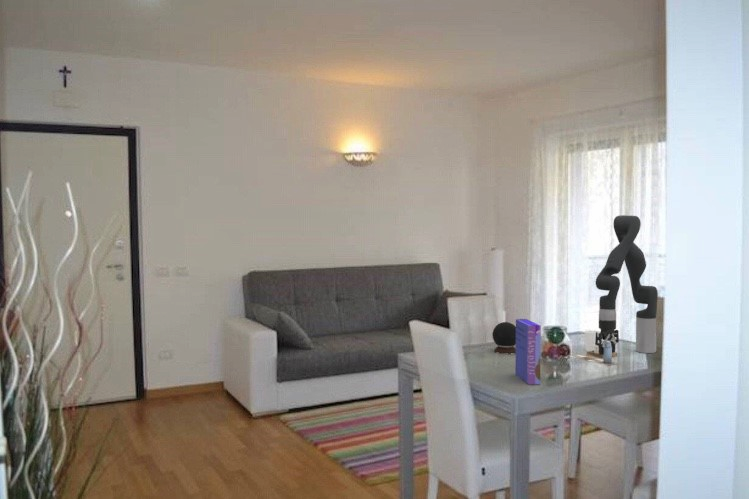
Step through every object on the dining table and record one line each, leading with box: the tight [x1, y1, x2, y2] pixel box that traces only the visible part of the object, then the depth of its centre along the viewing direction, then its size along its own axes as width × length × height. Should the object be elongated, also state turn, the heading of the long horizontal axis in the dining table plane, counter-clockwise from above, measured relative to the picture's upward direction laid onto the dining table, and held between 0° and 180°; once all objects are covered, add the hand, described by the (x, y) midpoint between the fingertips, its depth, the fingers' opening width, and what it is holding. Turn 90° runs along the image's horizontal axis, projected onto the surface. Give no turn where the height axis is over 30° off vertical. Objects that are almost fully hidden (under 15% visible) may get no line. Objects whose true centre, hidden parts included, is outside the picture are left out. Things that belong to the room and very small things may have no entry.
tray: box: [586, 350, 618, 359], centre depth 303 cm, size 10×10×2 cm
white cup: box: [583, 329, 601, 352], centre depth 316 cm, size 8×8×10 cm
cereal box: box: [514, 318, 542, 386], centre depth 259 cm, size 17×5×24 cm, turn 5°
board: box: [569, 354, 617, 367], centre depth 294 cm, size 7×22×1 cm, turn 34°
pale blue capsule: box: [602, 341, 613, 365], centre depth 287 cm, size 4×4×9 cm
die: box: [594, 345, 599, 354], centre depth 303 cm, size 5×5×5 cm
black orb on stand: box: [492, 321, 516, 355], centre depth 315 cm, size 13×13×15 cm
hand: (607, 353), depth 288 cm, fingers open, 8 cm apart
